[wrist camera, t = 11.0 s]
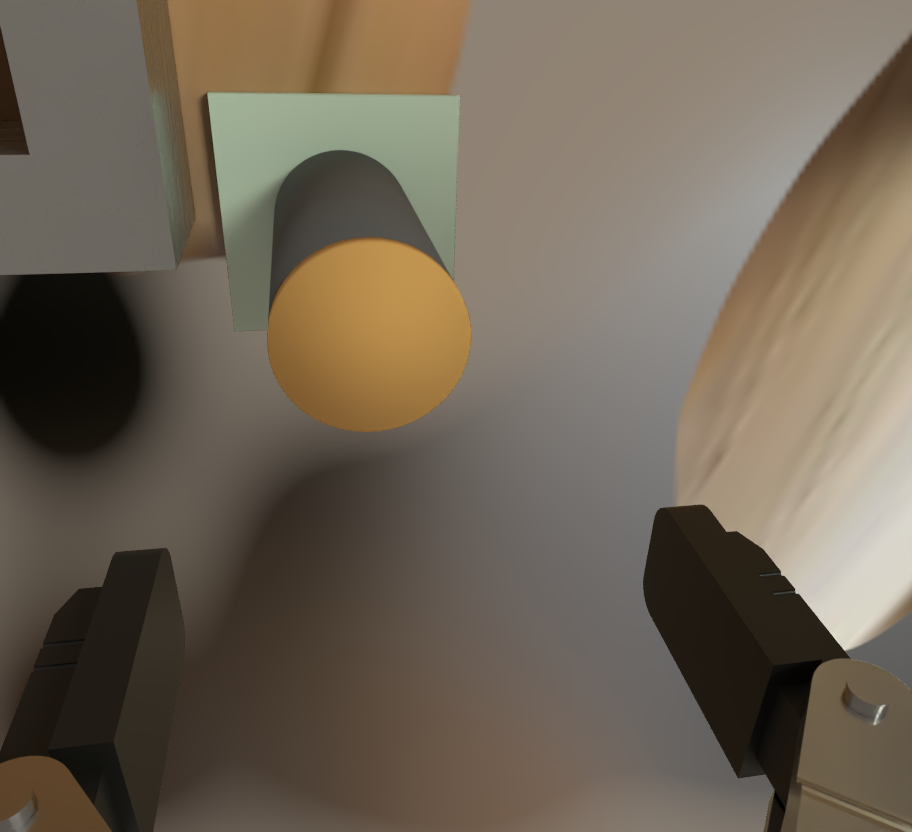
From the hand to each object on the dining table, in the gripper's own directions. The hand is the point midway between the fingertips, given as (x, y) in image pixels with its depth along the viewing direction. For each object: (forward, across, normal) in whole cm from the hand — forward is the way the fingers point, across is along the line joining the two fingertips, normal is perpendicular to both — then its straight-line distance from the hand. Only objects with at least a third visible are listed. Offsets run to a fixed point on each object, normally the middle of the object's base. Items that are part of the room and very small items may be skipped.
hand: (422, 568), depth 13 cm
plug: (+20, 0, 0) cm, 20 cm away
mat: (+21, 0, 0) cm, 21 cm away
